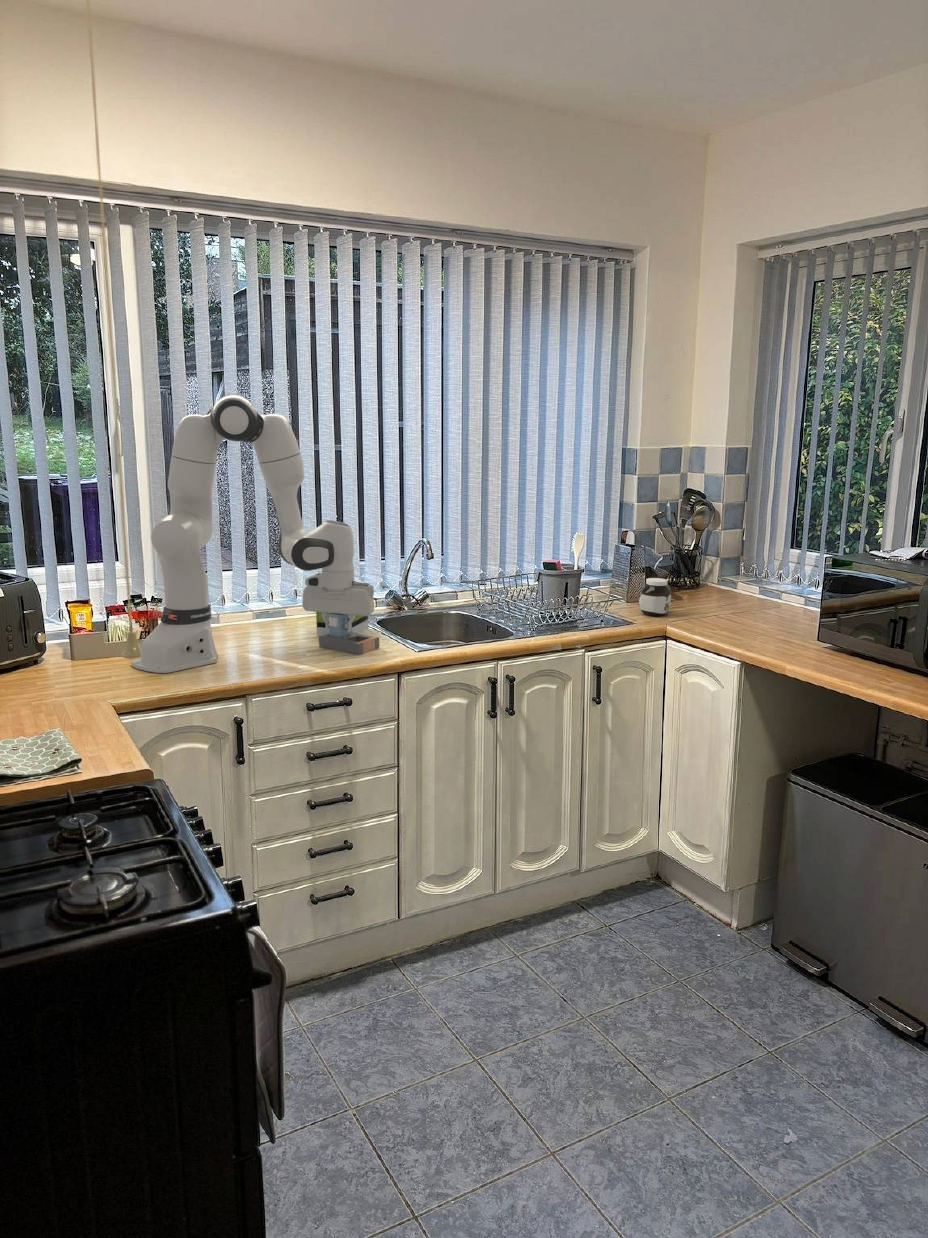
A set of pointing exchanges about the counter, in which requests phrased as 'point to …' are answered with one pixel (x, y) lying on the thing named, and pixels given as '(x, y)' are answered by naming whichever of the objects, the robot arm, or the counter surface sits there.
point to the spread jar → (655, 597)
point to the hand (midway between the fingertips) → (338, 628)
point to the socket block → (350, 643)
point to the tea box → (357, 624)
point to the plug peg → (338, 625)
